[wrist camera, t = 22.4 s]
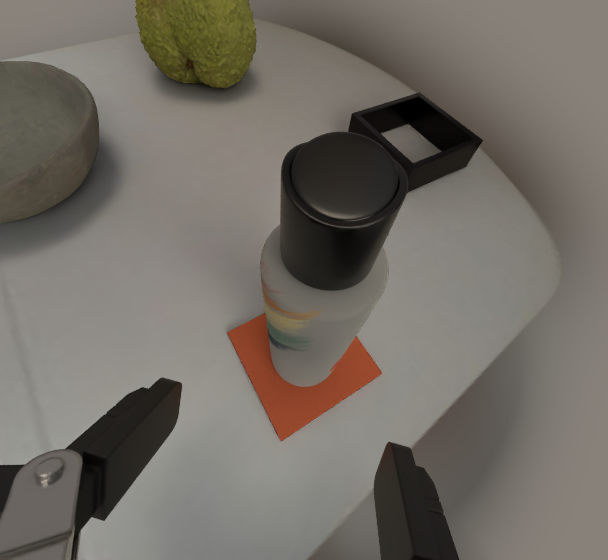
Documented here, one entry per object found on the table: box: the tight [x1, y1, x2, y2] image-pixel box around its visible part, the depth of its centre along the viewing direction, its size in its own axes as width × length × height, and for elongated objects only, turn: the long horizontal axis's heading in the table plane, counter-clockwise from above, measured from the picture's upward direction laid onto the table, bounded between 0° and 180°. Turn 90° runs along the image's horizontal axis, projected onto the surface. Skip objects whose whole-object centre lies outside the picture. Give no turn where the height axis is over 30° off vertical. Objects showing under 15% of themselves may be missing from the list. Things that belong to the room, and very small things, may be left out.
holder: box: [348, 92, 483, 192], centre depth 39 cm, size 12×12×4 cm
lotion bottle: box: [260, 132, 408, 387], centre depth 17 cm, size 6×6×20 cm
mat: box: [227, 313, 382, 441], centre depth 26 cm, size 10×10×1 cm
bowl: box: [0, 61, 99, 223], centre depth 31 cm, size 21×21×8 cm
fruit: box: [135, 0, 257, 88], centre depth 42 cm, size 16×14×15 cm
